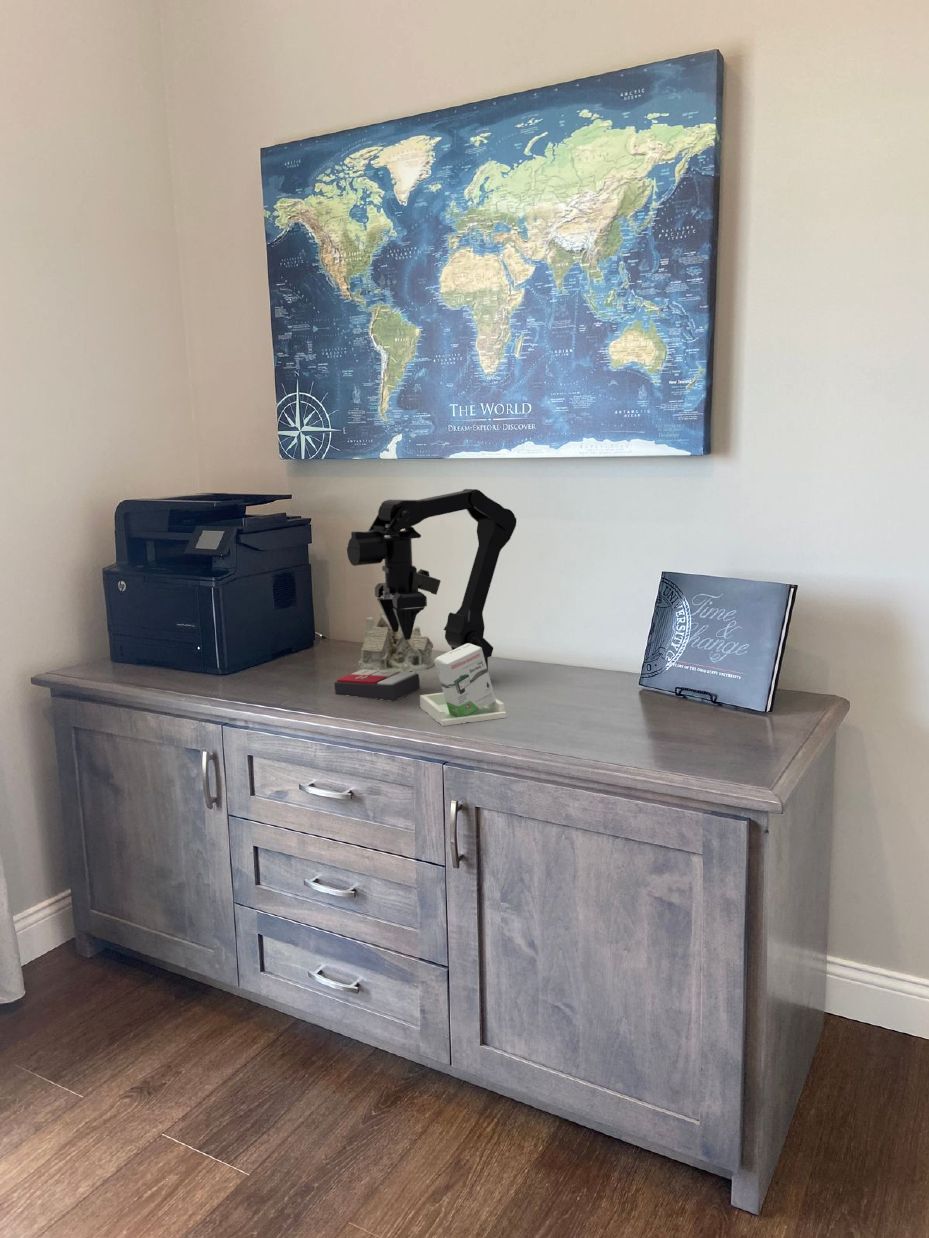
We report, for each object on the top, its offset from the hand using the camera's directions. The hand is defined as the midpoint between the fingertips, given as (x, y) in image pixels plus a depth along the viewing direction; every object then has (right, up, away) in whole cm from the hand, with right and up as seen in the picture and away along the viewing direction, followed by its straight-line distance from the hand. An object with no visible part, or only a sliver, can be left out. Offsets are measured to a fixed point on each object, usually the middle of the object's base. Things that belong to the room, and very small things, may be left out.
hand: (401, 635), depth 195 cm
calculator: (-6, -13, +7) cm, 16 cm away
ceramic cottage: (-3, -9, +27) cm, 29 cm away
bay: (+13, -15, -11) cm, 22 cm away
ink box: (+15, -14, -13) cm, 24 cm away
